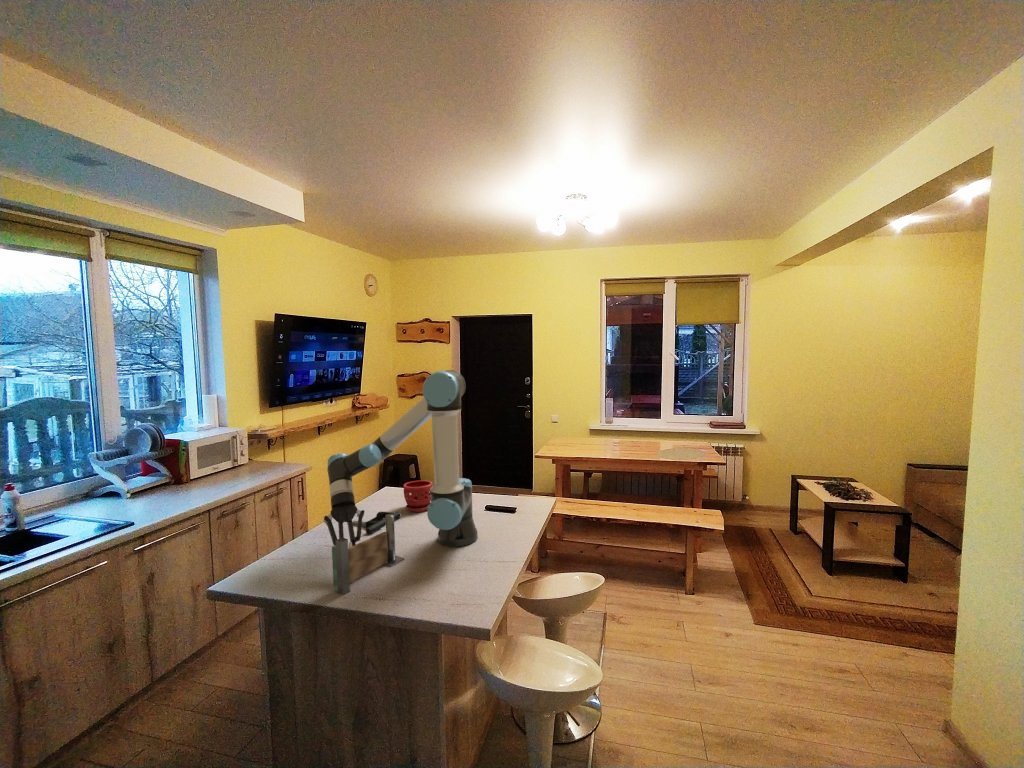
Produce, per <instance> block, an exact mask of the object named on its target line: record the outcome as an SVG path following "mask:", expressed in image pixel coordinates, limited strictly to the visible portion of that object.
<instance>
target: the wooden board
mask: <svg viewBox="0 0 1024 768" xmlns="http://www.w3.org/2000/svg"><path fill="white" fill-rule="evenodd" d="M348 558H349V582H352V581H354V580H356V579H357V578H359V577H361V576H364V575H365V574H367V573H369V572H370V571H371V572H372V570H374V569H376V568H378V567H379V566H382V565H383V564H384V563H386V562H387V561H388V547H387V532H386V531H383V532H380V533H379V534H376V535H374V536H372V537H369V538H367V539H365V540H363V541H361V542H358V543H356V545H354V546H352V547H350V548H349V547H348ZM331 561H332V563H331V565H332V583H333V586H332V587H333V590H334V591H337V592H338V585H337V563H336V545H332V546H331Z"/></svg>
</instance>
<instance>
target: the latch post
mask: <svg viewBox="0 0 1024 768" xmlns="http://www.w3.org/2000/svg"><path fill="white" fill-rule="evenodd" d="M337 539H338V540H336V563H337V585H338V591H337V594H340V595H341V594H342V595H341V596H344V595H346V594H348V593H350V592H351V591H350V590H351V588H350V587H351V586H350V585H351V584H350V582H351V581H350V582H349V558H348V548H349V540H348V538H345V537H344V538H340V539H339V538H337Z"/></svg>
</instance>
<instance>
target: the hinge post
mask: <svg viewBox="0 0 1024 768" xmlns="http://www.w3.org/2000/svg"><path fill="white" fill-rule="evenodd" d="M385 518H386V527H385V532H387V547H388V561H387V562H386V563H384V564H382V565H384V566H387V567H390V568H391V567H394V566H396V565H397V564H399V563H401V562H402V561H404V560H405V558H404V557H402V556H399V555H396V537H395V535H396V533H395V521H394V514H388V515H386V516H385Z"/></svg>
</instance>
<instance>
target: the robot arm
mask: <svg viewBox="0 0 1024 768" xmlns="http://www.w3.org/2000/svg"><path fill="white" fill-rule="evenodd" d="M466 387H467V386H466V381H465V378H464V376H463V375H462V374H461V373H460V372H458V371H456V370H453V369H451V370H450V369H448V370H438V371H435V372H433V373H431V374H430V375H429V376H428V377H427V378H426V379H425V380H424V383H423V386H422V395H423V397H422V398H421V399H420V400H419V401H418V402H417V403H416V404H415V405H414V406H412V407H411V408H410V409H409V410H408V411H407V412H406V413H404V414H403V415H402V416H401V417H400V418H399V419H398V420H396V422H395V423H393V424H392V425H391V426H390V427H389V428H388V429H386V431H384V432H383V433H382V434H381V435H380V436H378V437H377V439H375V440H374V441H373V442H372V443H370V444H367V445H365V446H363V447H360V449H357V450H355V451H354V452H352V453H349V454H347V453H342V452H339V453H334V454H332V455H330V456H329V457H328V459H327V474H328V476H327V477H328V482H329V493H330V495H329V497H330V507H331V510H330V513H329V514H327V515H324V517H323V522H324V524H325V525H326V526H327V529H328V533H329V536H330V539H331V541H332V546H335V545H336V540H338V539H340V538H345V535H344V534H345V533H344V523H346V524H347V527H348V528H347V529H348V535H349V541H348V548H350V547H352V546H354V545H356V544H357V543H358V542H360V541H361V538H362V528H363V527H362V521H363V518H364V516H365V509H364V510H363V509H362V510H360V509H358V507H357V506H356V500H355V495H354V486H353V477H354V476H356V475H358V474H360V473H361V472H364V471H366V470H368V469H371V468H373V467H375V466H376V465H378V464H379V463H381V461H384V460H386V459H387V458H388V457H389V456H390V455H391V453H392V452H394V450H396V449H397V448H398V447H400V446H401V444H403V443H404V442H405V441H406V440H407V439H408V438H410V436H412V435H413V434H414V433H415V432H416V431H418V430H419V429H420V428H421V427H422V426H424V424H425V423H427V422H428V421H429V420H430V419H431V425H432V449H433V450H432V452H433V453H432V454H433V479H434V480H433V481H434V484H432V485H433V486H432V487H431V488H430V492H429V493H430V494H431V501H430V502H431V503H430V505H429V507H428V510H426V511H427V512H426V515H427V519H428V521H429V523H430V524H431V525H433V526H434V527H435V528H436V529H438V533H437V541H438V543H439V544H441V545H443V546H446V547H452V546H455V547H456V546H457V547H463V546H468V545H472V544H473V543H475V542H476V541H477V540H478V538H479V537H478V536H479V535H478V529H477V527H476V524H475V521H474V518H473V484H472V480H470V479H469V478H464V477H463V478H462V477H460V465H459V463H460V461H459V433H458V430H459V429H458V414H459V413H460V411H462V397H463V395H464V394H465V392H466ZM355 516H356V517H357V518H358V519H357V521H358V525H357V526H356V527H357V528H356V536H355V531H354V525H353V523H352V522H353V519H354V518H355ZM332 520H334V521H336V522H337V525H338V537H337V533H336V530H335V528H334V525H333V521H332Z"/></svg>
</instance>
